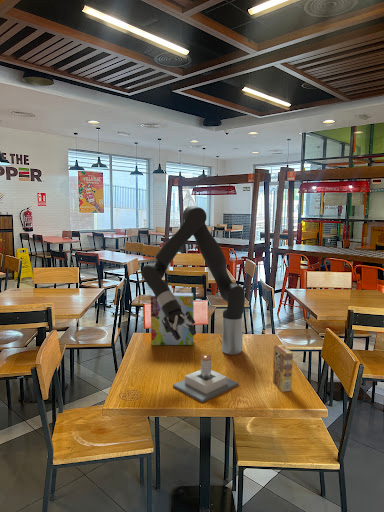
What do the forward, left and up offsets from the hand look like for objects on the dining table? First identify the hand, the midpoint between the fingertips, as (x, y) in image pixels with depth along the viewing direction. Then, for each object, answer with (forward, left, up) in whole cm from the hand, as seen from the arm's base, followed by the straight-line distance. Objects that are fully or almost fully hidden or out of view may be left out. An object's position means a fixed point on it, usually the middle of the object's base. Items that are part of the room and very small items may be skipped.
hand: (186, 336), depth 151 cm
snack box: (-21, -34, -17) cm, 43 cm away
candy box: (-22, +31, -17) cm, 42 cm away
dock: (0, +11, -17) cm, 20 cm away
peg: (0, +11, -16) cm, 19 cm away
